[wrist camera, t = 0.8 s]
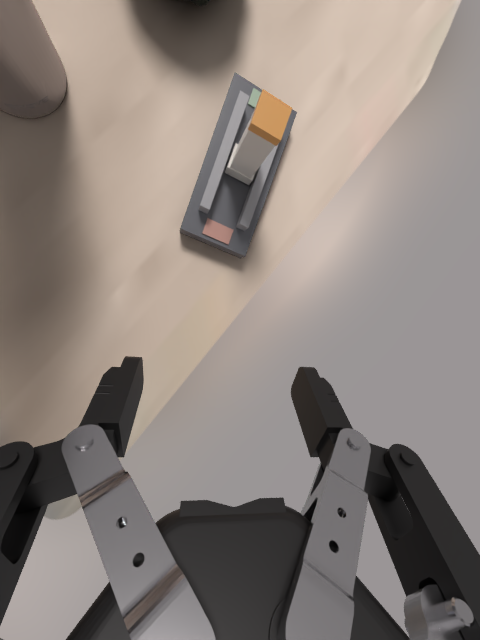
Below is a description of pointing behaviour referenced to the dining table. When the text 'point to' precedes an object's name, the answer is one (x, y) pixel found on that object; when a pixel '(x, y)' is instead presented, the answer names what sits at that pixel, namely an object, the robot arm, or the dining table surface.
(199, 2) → the squash
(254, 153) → the handle
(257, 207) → the grey rail track base
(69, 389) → the dining table surface
